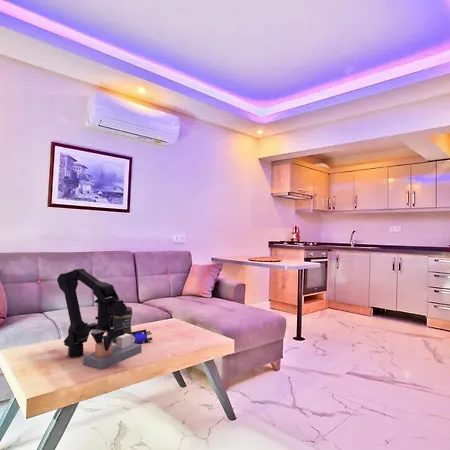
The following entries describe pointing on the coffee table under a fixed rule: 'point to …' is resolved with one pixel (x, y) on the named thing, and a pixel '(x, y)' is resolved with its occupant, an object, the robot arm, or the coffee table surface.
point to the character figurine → (140, 336)
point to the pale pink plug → (123, 341)
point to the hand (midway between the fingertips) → (103, 349)
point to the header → (112, 356)
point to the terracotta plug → (102, 350)
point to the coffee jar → (124, 322)
